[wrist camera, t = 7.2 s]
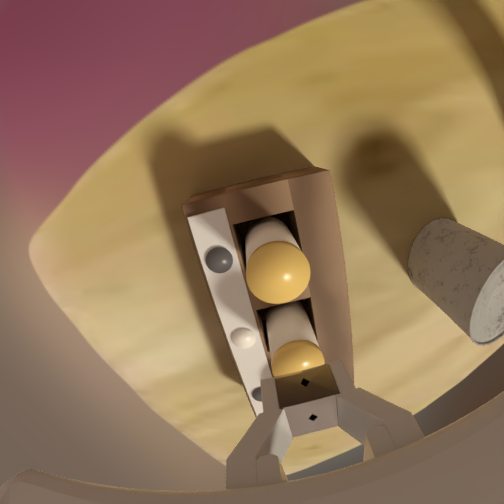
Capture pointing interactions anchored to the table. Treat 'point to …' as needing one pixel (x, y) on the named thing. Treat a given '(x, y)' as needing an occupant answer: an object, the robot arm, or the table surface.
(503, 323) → the grey concrete cylinder
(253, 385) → the strip
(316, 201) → the button board
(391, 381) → the table surface
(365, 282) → the table surface
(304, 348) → the middle button
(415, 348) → the table surface
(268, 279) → the button
